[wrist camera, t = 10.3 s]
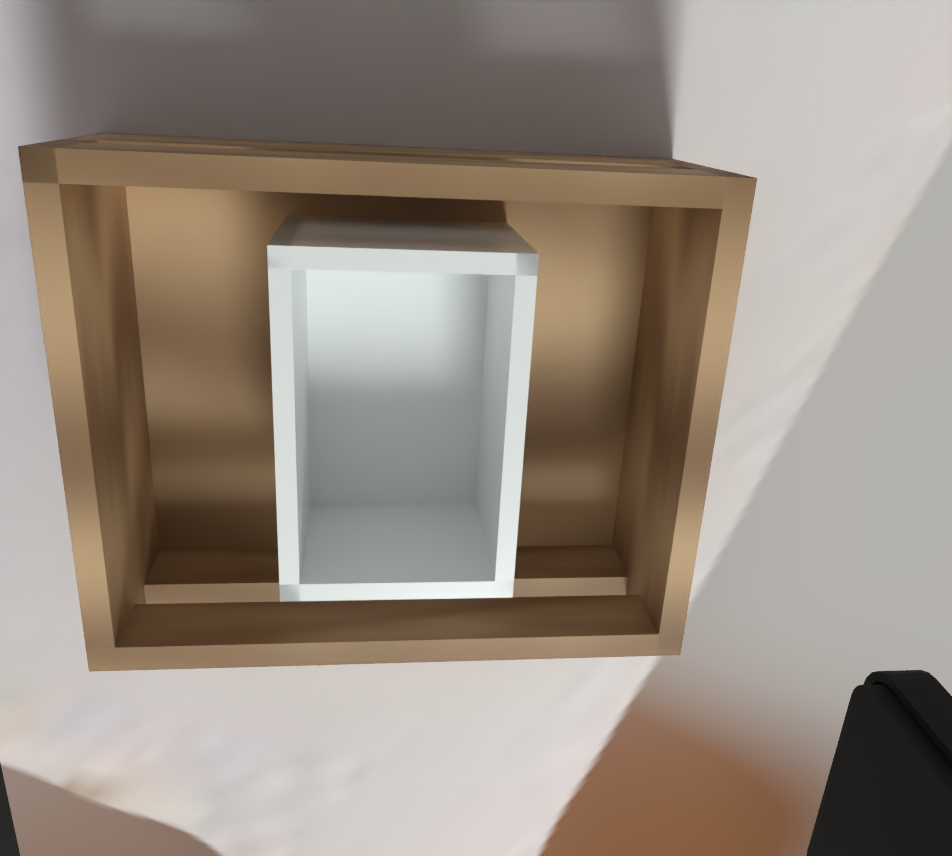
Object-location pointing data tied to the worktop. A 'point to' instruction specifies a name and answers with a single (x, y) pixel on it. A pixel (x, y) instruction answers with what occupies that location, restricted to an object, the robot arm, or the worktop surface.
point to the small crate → (399, 405)
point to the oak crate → (251, 402)
